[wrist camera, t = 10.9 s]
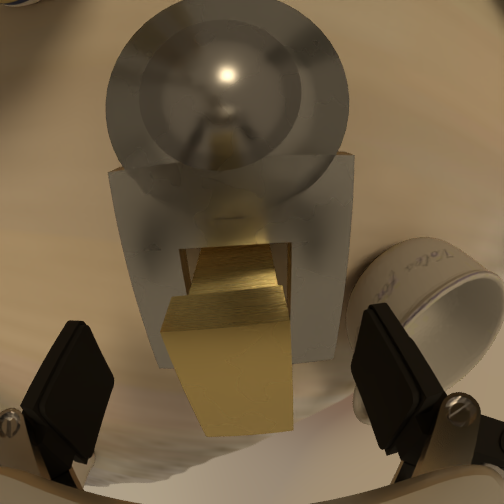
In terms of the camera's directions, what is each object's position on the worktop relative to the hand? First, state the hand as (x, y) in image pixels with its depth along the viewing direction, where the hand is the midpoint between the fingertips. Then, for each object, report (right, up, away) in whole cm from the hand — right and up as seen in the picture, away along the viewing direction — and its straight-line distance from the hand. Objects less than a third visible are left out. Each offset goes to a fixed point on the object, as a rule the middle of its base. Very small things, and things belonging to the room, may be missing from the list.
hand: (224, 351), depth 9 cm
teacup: (+11, -1, +12) cm, 17 cm away
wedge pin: (0, +4, +9) cm, 10 cm away
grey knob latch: (0, +8, +8) cm, 11 cm away
